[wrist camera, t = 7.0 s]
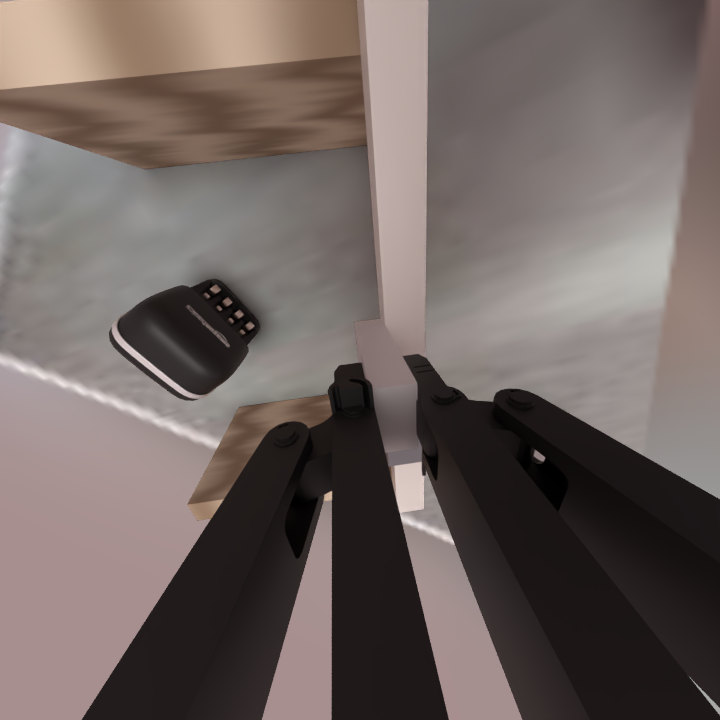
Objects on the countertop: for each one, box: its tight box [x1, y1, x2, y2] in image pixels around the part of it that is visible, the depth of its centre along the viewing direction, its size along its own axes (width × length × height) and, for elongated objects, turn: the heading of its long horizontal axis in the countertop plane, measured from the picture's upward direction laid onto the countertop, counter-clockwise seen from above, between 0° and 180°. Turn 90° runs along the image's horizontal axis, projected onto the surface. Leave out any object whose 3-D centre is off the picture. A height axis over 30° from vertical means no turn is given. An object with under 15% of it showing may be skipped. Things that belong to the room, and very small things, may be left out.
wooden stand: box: [0, 0, 392, 521], centre depth 20 cm, size 18×27×12 cm, turn 6°
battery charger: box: [109, 279, 259, 401], centre depth 20 cm, size 7×4×11 cm, turn 34°
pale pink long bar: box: [357, 0, 428, 513], centre depth 14 cm, size 3×27×2 cm, turn 6°
